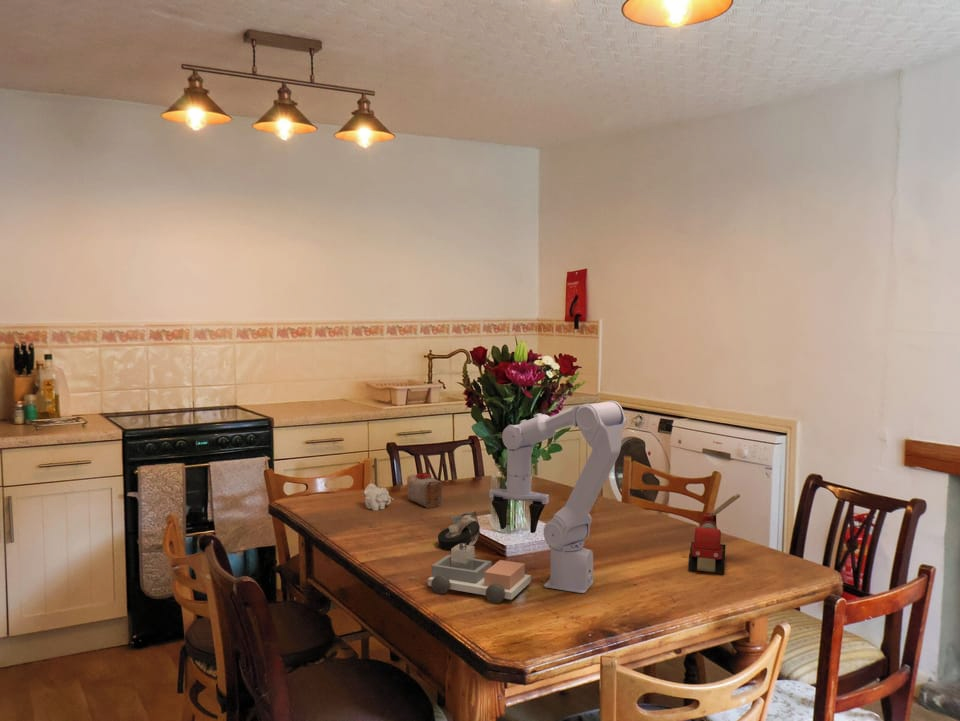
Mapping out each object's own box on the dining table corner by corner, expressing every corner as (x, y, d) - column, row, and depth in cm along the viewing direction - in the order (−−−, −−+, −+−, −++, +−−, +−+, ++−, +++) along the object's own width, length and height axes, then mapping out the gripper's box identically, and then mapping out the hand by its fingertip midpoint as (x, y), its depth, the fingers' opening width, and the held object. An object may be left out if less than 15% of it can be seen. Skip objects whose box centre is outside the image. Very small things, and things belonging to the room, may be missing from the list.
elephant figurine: (398, 508, 251) (398, 485, 250) (371, 513, 245) (371, 489, 244) (384, 503, 257) (384, 480, 256) (358, 508, 250) (358, 485, 250)
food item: (403, 500, 261) (403, 469, 260) (425, 496, 265) (425, 467, 264) (424, 509, 249) (424, 478, 249) (446, 506, 254) (446, 475, 253)
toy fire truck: (687, 573, 194) (689, 500, 192) (691, 554, 208) (693, 486, 207) (737, 579, 190) (739, 504, 189) (738, 559, 205) (740, 489, 203)
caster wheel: (443, 561, 209) (437, 543, 219) (487, 550, 211) (480, 532, 220) (438, 537, 207) (433, 520, 217) (482, 526, 209) (475, 509, 219)
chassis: (532, 584, 185) (533, 560, 185) (509, 606, 172) (509, 580, 172) (453, 571, 193) (453, 549, 193) (425, 591, 180) (425, 567, 180)
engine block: (474, 571, 186) (474, 542, 185) (467, 577, 182) (467, 547, 182) (458, 569, 187) (458, 540, 187) (450, 574, 184) (451, 545, 183)
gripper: (553, 473, 195) (552, 529, 196) (497, 468, 201) (496, 522, 202) (543, 479, 188) (542, 537, 190) (486, 473, 194) (485, 529, 195)
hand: (518, 530), depth 195 cm, fingers open, 7 cm apart
